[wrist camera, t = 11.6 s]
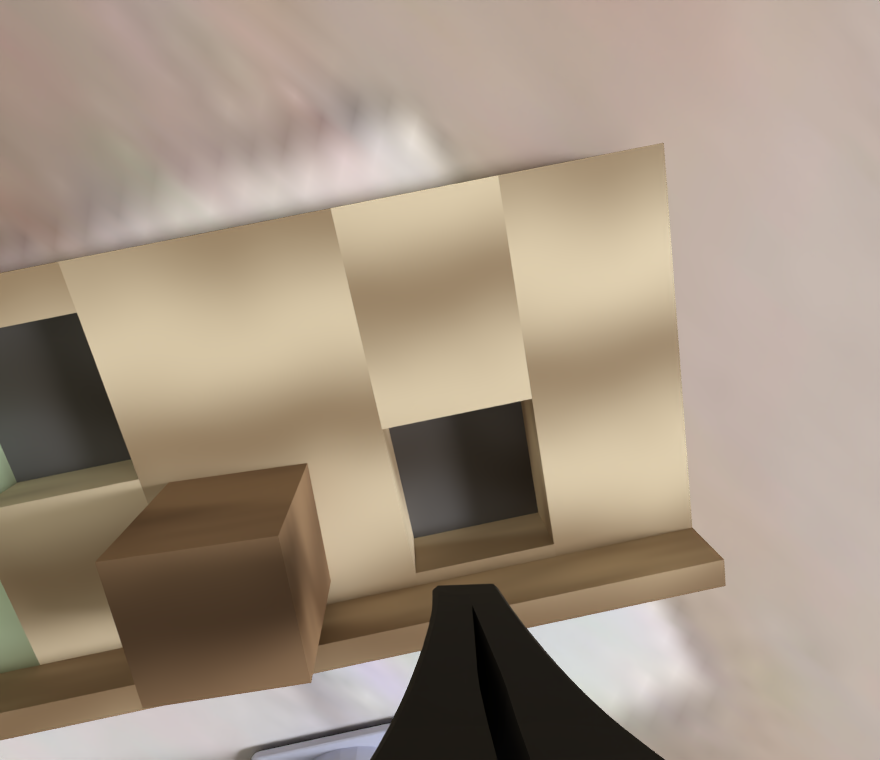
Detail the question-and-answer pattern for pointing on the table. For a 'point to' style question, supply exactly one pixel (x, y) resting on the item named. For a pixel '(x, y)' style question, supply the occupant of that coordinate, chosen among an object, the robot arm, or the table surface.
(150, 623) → the walnut block
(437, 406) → the trap board
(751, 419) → the table surface
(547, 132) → the table surface
